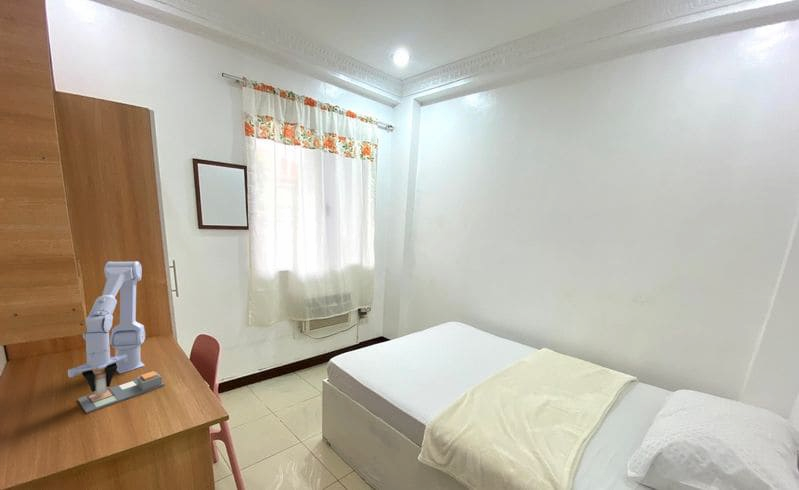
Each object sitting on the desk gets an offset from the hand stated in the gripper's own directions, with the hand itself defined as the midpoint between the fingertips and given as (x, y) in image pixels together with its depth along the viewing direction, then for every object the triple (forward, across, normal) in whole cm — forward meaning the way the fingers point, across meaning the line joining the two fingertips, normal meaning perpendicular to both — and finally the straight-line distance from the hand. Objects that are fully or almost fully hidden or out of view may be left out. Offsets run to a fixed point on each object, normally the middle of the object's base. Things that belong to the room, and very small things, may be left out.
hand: (100, 388), depth 108 cm
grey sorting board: (+3, +6, -2) cm, 7 cm away
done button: (+1, +12, -4) cm, 13 cm away
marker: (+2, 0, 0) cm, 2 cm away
